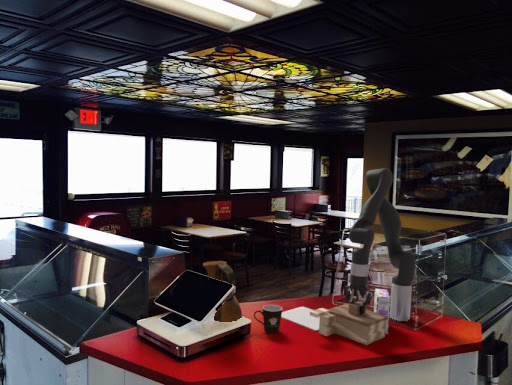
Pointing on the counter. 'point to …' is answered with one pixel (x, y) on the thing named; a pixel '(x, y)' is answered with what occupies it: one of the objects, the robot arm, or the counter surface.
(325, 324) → the wooden box
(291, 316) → the mat
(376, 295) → the candy box
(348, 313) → the lid
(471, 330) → the counter surface
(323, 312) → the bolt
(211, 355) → the counter surface
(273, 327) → the coffee mug
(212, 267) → the ceramic pitcher
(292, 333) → the counter surface
